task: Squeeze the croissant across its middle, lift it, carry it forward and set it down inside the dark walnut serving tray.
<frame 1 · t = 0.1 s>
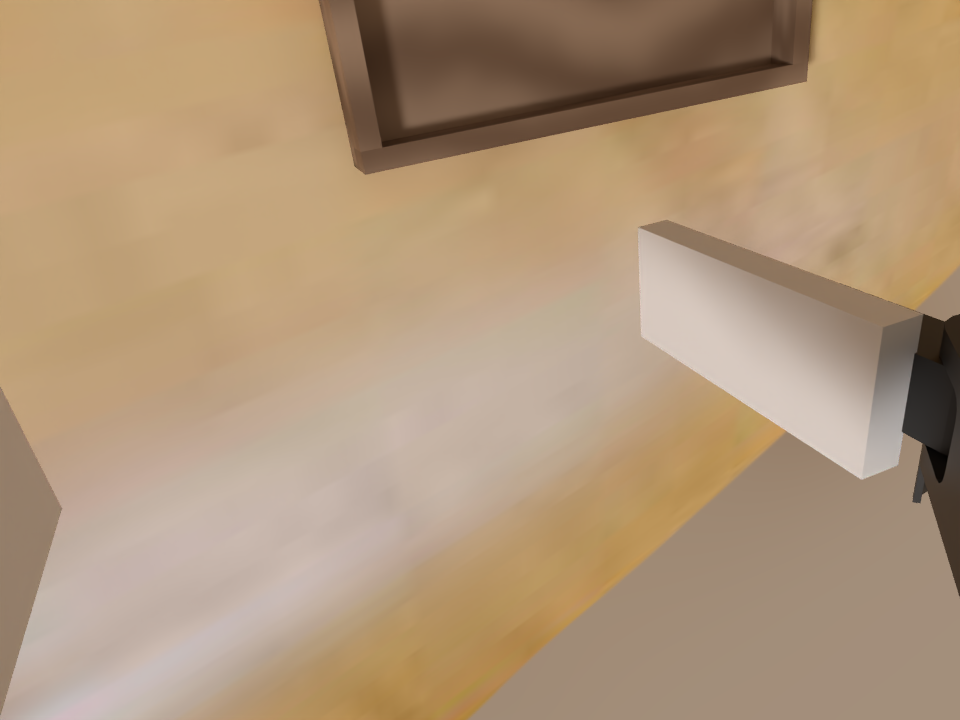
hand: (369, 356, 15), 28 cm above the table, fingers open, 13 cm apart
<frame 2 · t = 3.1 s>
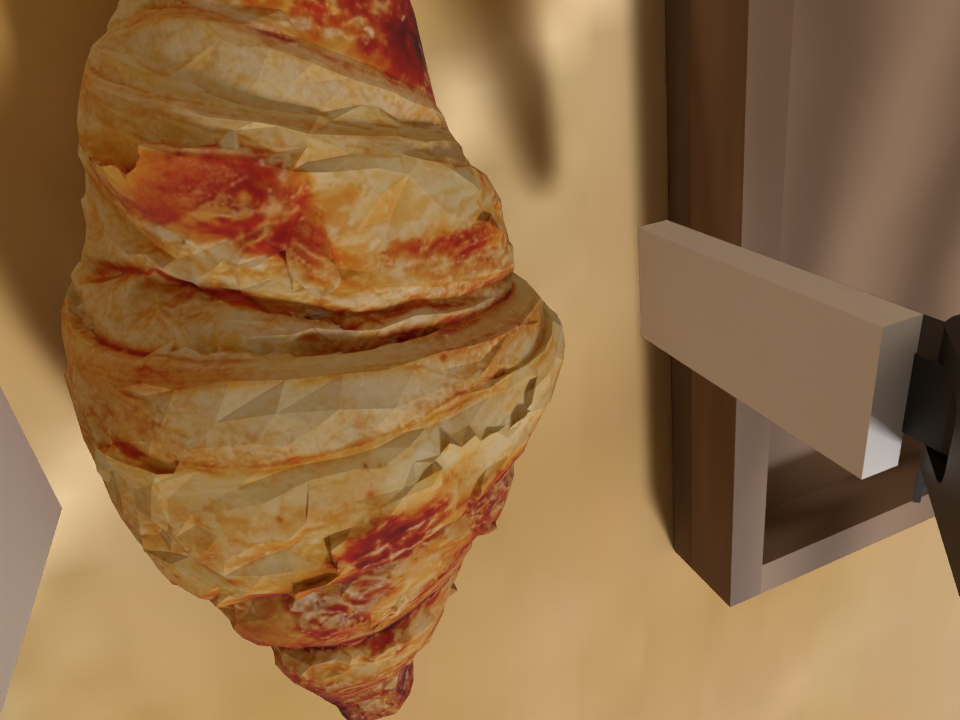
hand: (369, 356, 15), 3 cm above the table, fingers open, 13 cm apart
tray: (952, 63, 21), on the table
croissant: (318, 315, 17), on the table
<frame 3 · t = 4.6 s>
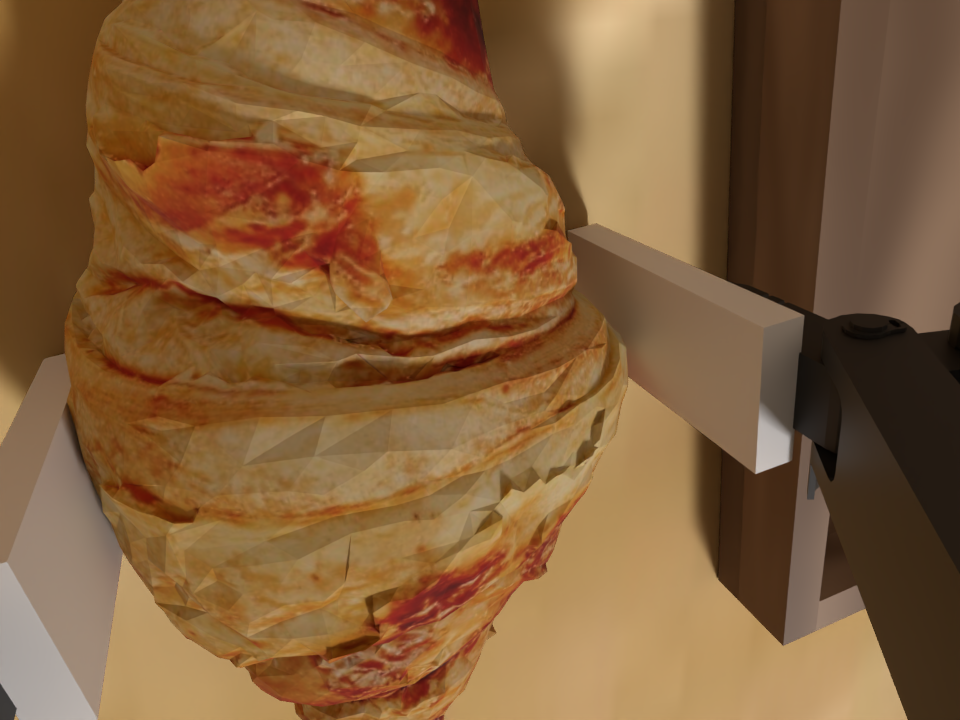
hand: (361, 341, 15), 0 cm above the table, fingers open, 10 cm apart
croissant: (350, 328, 16), on the table, touching gripper
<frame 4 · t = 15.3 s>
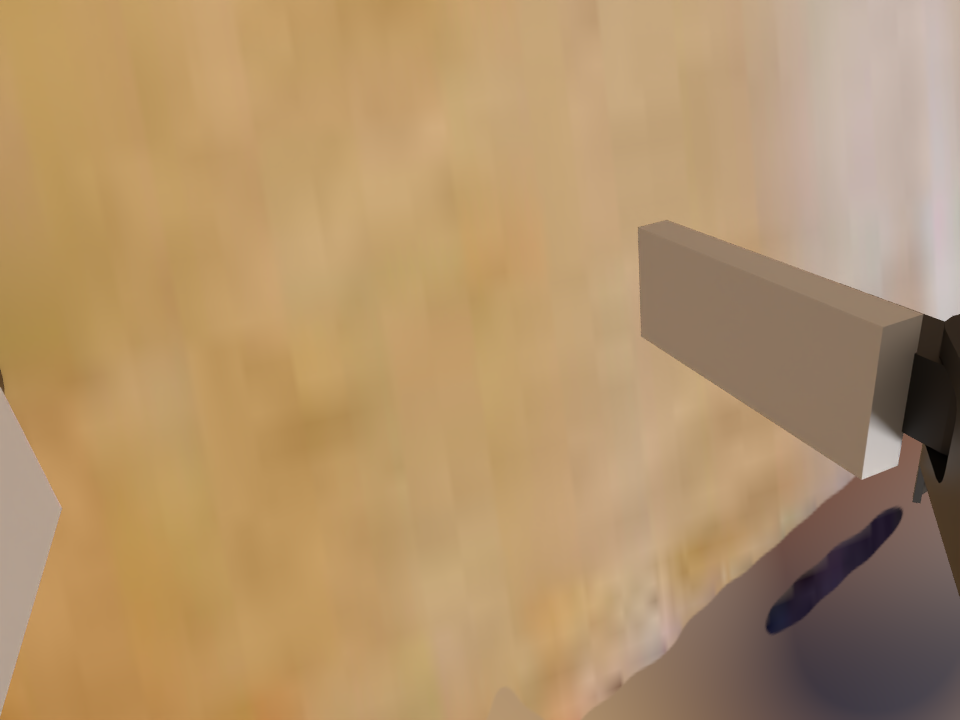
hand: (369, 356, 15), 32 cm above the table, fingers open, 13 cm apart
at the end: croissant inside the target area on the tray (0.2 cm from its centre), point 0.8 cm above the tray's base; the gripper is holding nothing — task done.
